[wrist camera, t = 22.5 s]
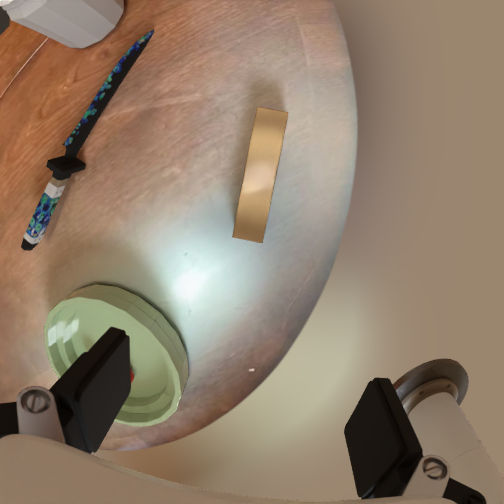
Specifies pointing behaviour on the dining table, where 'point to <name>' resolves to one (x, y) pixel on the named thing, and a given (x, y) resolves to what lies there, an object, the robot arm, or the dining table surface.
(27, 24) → the jar
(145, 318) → the shallow round dish
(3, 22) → the model building
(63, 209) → the dining table surface
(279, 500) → the robot arm
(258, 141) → the stick
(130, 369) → the tomato
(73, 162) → the knife
